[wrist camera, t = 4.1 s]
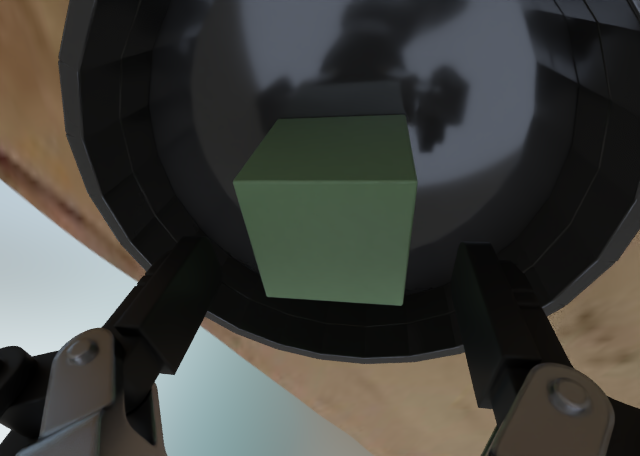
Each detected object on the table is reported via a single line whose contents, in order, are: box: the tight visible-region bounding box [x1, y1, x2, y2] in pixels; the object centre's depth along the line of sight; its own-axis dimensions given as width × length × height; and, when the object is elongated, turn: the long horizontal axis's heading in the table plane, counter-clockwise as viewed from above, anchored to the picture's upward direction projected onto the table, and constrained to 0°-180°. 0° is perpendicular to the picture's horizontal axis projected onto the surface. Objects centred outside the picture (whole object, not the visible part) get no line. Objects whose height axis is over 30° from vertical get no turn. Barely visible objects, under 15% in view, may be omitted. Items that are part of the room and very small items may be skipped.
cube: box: [233, 115, 418, 306], centre depth 12 cm, size 5×5×5 cm
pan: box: [58, 0, 640, 364], centre depth 12 cm, size 18×18×4 cm
